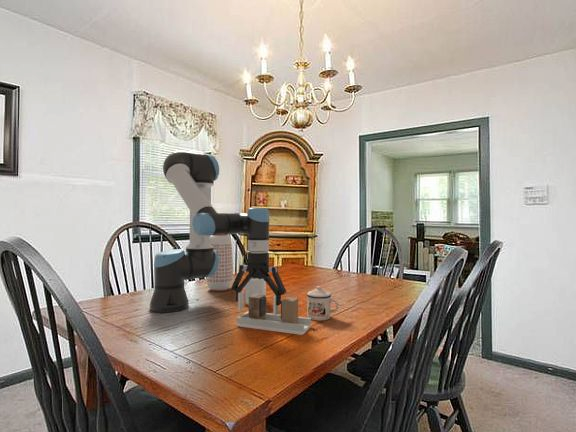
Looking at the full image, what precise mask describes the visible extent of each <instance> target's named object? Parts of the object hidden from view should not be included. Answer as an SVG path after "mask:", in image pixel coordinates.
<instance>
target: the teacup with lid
mask: <svg viewBox="0 0 576 432" xmlns="http://www.w3.org/2000/svg"><path fill="white" fill-rule="evenodd" d="M306 296H307V303H306V304H307V307H306V308H307V309H306V310H307V311H306V312H307V313H306V314H307V317H306V318H311V321H318V322H319V321H320V322H321V321H328V320H329V319H330V318H331V313H335V312H337V310H338V309H339V305H340V304H339V302H338V300H337V299H335V298H331V296H332V294H331V292H330V291H327V290H325V289H324V288H323V287H322V286H321V285H317V286H316V288H314V289H312V290H310V291H308V292H307V294H306ZM331 302H334V303H335V304H336V305H335V306H336V307H335V309H331Z"/></svg>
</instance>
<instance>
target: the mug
mask: <svg viewBox="0 0 576 432" xmlns="http://www.w3.org/2000/svg"><path fill="white" fill-rule="evenodd" d="M266 288H267V283H266V281H264V279H258V278H256V279H253V278H251V279H250V281H249V282H248V283H247V284H246V286H245V287H244V304H246V305H247V306H248V307H249V297H250V296H252V295H254V294H262V295H265V297H266V298H267V296H266V294H267V292H266V290H267V289H266Z"/></svg>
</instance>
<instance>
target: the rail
mask: <svg viewBox="0 0 576 432" xmlns="http://www.w3.org/2000/svg"><path fill="white" fill-rule="evenodd" d="M236 326H237V327H242V328H248V329H254V330H255V329H256V330H257V329H258V330H263V331H269V332H270V331H272V332H279V333H286V334H293V335H294V334H295V335H300V336H304V334H305V333H306V332H307V331H308V330H309V329H310V328H311V326H312V319H311V318H308V317H305V316H304V317H303V316H299V297H290V296H286V297H284V299H281V304H280V314H279V313H278V314H277V315H276V316H275V315H273V313H269V312H266V314H265V320H262V319H254V318H249V310H247V311H246V312H244V313H242V314H241V315H238V316H237V317H236Z"/></svg>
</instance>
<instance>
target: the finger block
mask: <svg viewBox="0 0 576 432" xmlns="http://www.w3.org/2000/svg"><path fill="white" fill-rule="evenodd" d="M248 311H249V318H254V319H262V320H265V314H266V313H267V296H266V297H265V295H262V294H254V295H252V296H250V297H249V306H248Z"/></svg>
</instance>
